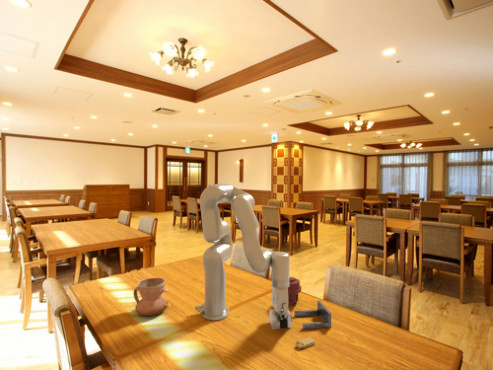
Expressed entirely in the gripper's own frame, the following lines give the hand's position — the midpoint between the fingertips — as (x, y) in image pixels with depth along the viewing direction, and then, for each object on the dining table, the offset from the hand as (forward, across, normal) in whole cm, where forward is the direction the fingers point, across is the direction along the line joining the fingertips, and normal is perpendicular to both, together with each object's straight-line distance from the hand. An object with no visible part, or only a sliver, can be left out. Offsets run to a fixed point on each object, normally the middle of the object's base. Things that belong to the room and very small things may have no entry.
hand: (280, 321), depth 113 cm
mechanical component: (+2, -19, +11) cm, 22 cm away
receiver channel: (+2, -1, +14) cm, 14 cm away
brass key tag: (+2, +14, +6) cm, 15 cm away
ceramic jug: (+2, -21, -57) cm, 61 cm away
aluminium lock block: (+2, 0, 0) cm, 2 cm away
